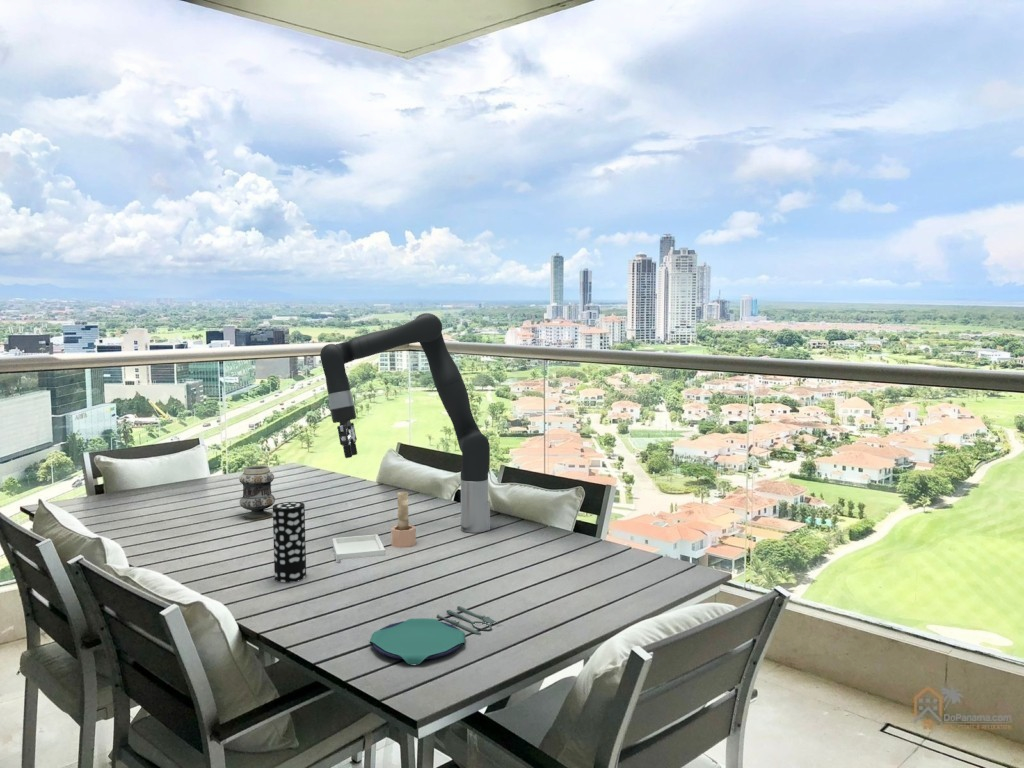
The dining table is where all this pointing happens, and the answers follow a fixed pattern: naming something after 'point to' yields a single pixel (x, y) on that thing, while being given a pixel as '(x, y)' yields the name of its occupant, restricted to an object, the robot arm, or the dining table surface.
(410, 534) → the holder cup
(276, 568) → the spotted tube
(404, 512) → the wooden pin
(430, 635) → the cutlery set
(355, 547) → the tray
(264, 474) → the apothecary jar
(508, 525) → the dining table surface
